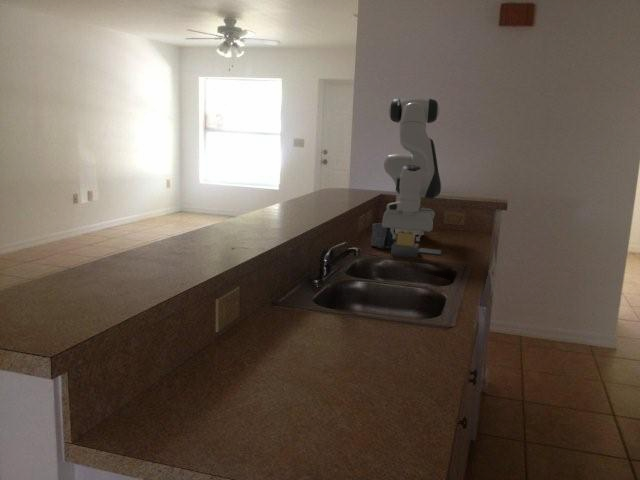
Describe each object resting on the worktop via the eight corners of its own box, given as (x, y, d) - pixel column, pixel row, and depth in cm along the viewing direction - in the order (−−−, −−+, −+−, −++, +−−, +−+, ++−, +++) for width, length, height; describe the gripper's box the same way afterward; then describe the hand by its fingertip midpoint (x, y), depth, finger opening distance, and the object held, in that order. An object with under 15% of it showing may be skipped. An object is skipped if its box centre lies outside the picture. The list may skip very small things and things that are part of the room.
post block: (394, 250, 238) (395, 229, 236) (418, 253, 236) (420, 231, 234) (390, 255, 228) (392, 233, 227) (415, 257, 226) (417, 235, 224)
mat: (420, 249, 245) (420, 247, 245) (441, 251, 243) (441, 250, 242) (418, 253, 236) (418, 251, 236) (440, 255, 234) (440, 254, 234)
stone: (398, 252, 244) (386, 248, 236) (378, 252, 250) (366, 248, 242) (400, 225, 246) (388, 220, 238) (380, 226, 252) (368, 221, 244)
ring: (398, 242, 235) (399, 230, 234) (414, 244, 234) (415, 232, 233) (396, 245, 229) (397, 232, 228) (412, 246, 228) (413, 234, 227)
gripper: (435, 207, 229) (432, 241, 231) (385, 203, 234) (382, 236, 236) (434, 209, 223) (431, 244, 225) (382, 205, 228) (380, 238, 230)
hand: (405, 240), depth 231 cm, fingers open, 8 cm apart
